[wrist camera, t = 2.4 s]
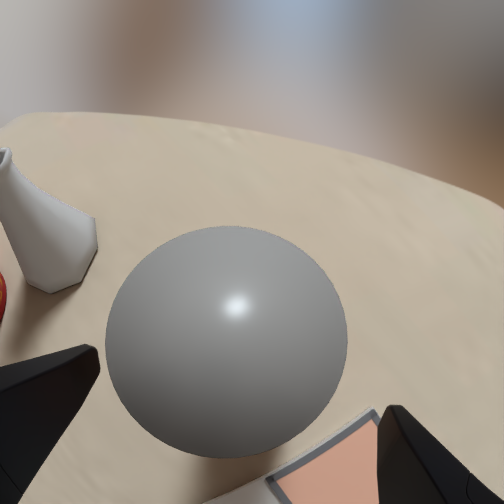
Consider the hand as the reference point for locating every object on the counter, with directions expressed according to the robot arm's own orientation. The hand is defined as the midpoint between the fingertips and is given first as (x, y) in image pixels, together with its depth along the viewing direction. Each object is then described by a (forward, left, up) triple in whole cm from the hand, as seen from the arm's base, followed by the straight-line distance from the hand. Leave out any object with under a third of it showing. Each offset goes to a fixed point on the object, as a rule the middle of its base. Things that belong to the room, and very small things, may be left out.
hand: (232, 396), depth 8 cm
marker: (+1, +1, -9) cm, 9 cm away
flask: (-7, +16, -9) cm, 20 cm away
